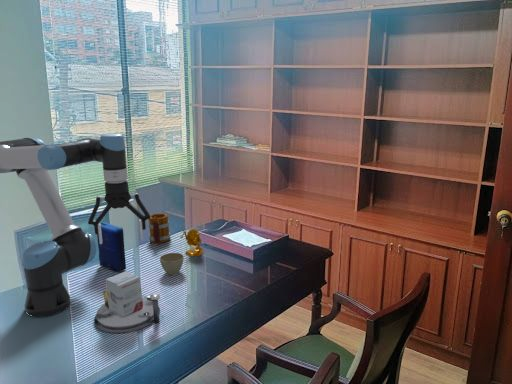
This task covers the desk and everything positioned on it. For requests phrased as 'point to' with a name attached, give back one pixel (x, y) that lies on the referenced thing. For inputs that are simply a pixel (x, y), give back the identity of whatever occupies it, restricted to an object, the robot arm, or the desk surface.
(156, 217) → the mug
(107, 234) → the book
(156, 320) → the turntable base
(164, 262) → the flower pot
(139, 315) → the turntable
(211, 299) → the desk surface
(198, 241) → the figurine
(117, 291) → the ink box
